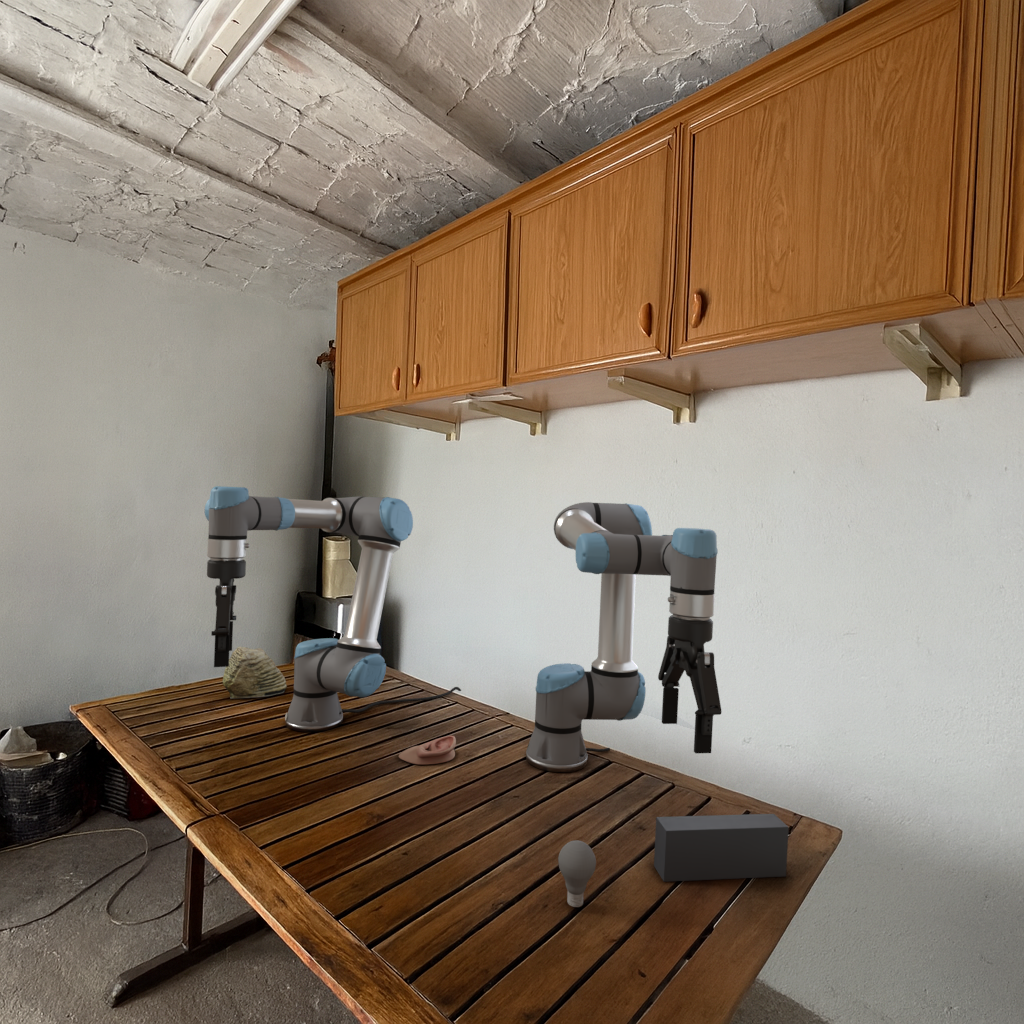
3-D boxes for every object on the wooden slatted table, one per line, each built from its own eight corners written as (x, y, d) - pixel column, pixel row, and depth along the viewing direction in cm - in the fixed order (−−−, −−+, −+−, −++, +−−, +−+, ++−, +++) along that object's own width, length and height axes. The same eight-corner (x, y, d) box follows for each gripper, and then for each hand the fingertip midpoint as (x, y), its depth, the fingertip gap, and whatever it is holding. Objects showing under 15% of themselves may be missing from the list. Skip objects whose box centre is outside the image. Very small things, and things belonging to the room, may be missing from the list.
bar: (771, 861, 117) (773, 813, 117) (786, 876, 112) (788, 826, 112) (653, 865, 114) (656, 816, 113) (663, 881, 109) (666, 830, 109)
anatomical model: (394, 745, 152) (411, 728, 164) (393, 761, 153) (410, 744, 164) (446, 752, 150) (460, 734, 161) (446, 768, 150) (459, 750, 161)
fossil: (218, 695, 195) (220, 647, 195) (278, 685, 208) (279, 640, 207) (228, 703, 189) (230, 653, 188) (289, 692, 201) (290, 645, 201)
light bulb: (553, 893, 104) (556, 833, 104) (589, 892, 104) (592, 832, 104) (559, 917, 98) (562, 853, 98) (597, 916, 99) (600, 853, 98)
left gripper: (244, 565, 124) (240, 672, 125) (247, 553, 148) (244, 644, 148) (201, 565, 122) (198, 675, 122) (212, 553, 145) (208, 645, 145)
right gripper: (644, 604, 122) (639, 713, 123) (703, 631, 98) (696, 767, 98) (681, 604, 124) (675, 712, 124) (748, 631, 99) (741, 766, 99)
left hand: (223, 658), depth 135 cm, fingers open, 13 cm apart
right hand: (684, 737), depth 111 cm, fingers open, 13 cm apart
